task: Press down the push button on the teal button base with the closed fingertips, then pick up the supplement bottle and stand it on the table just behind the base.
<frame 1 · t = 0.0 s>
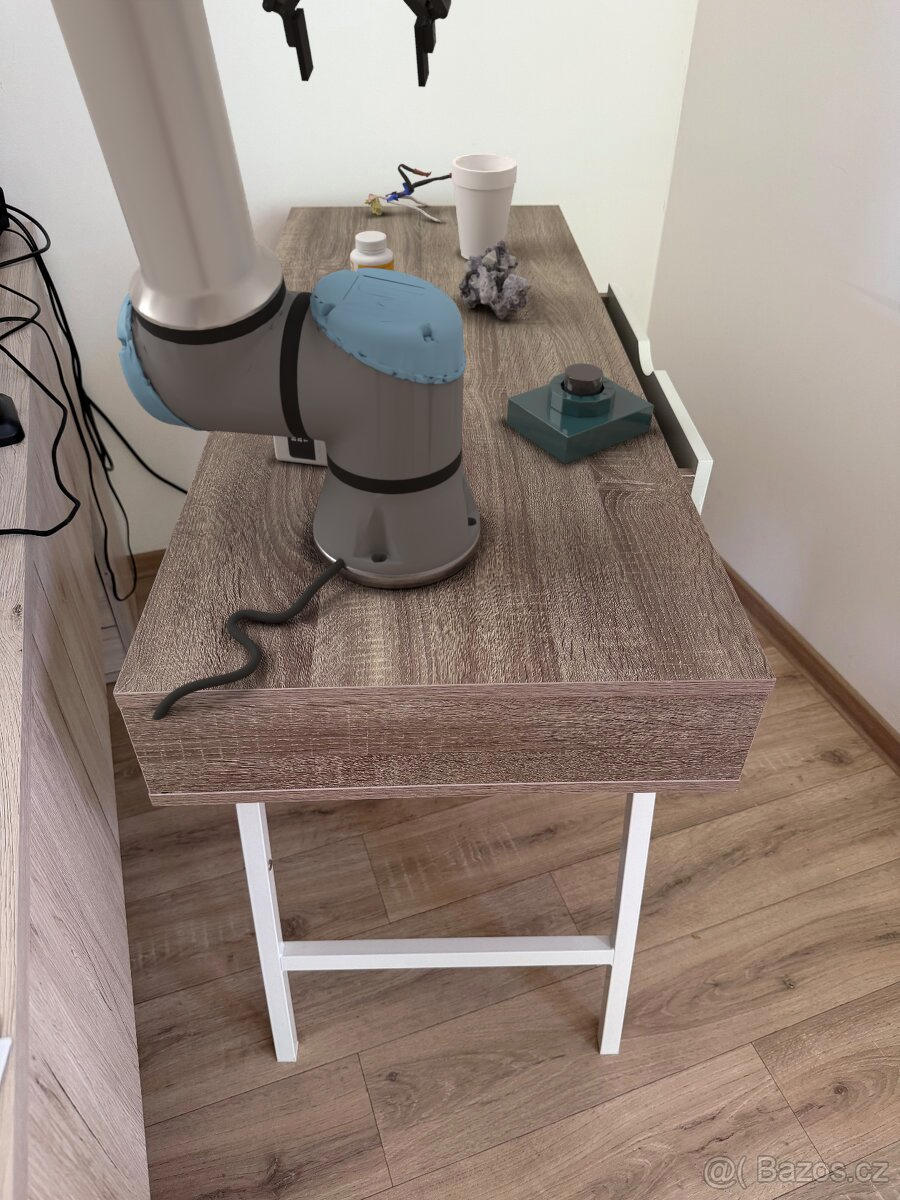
hand: (365, 77, 105), 28 cm above the table, tool tilted 20°, fingers open, 13 cm apart
container: (322, 448, 97), on the table
foam cup: (481, 255, 140), on the table
figurine: (409, 214, 154), on the table
mineral specimen: (489, 309, 124), on the table
teal button base: (577, 427, 100), on the table
push button: (583, 380, 97), point 6 cm above the table, slide at 0.1 cm
supplement bottle: (374, 315, 123), on the table
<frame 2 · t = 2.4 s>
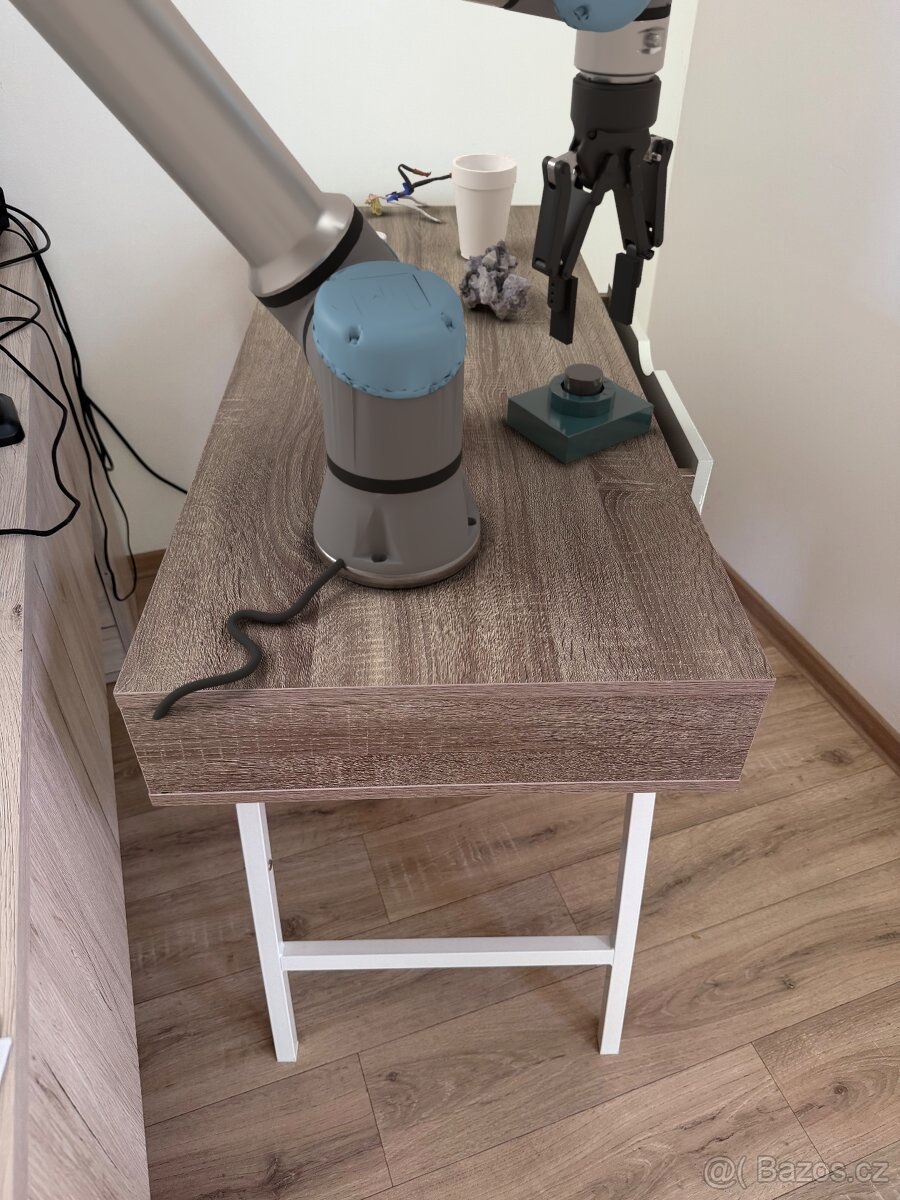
hand: (591, 329, 93), 11 cm above the table, tool pointing down, fingers open, 7 cm apart
container: (335, 407, 95), point 4 cm above the table, touching arm
everything else where it was.
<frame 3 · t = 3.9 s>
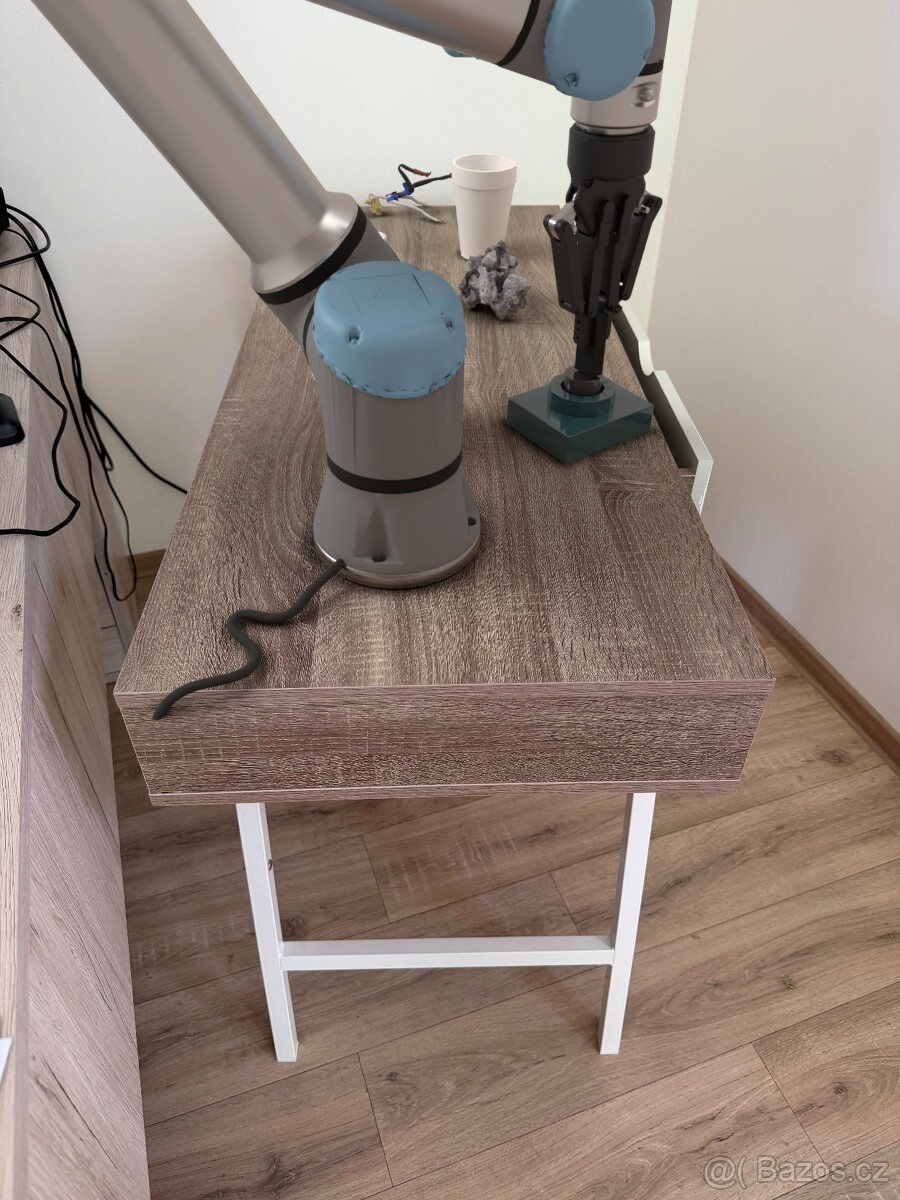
hand: (588, 371, 96), 7 cm above the table, tool pointing down, fingers closed
push button: (582, 381, 97), point 5 cm above the table, slide at -0.1 cm, touching gripper
everything else where it was.
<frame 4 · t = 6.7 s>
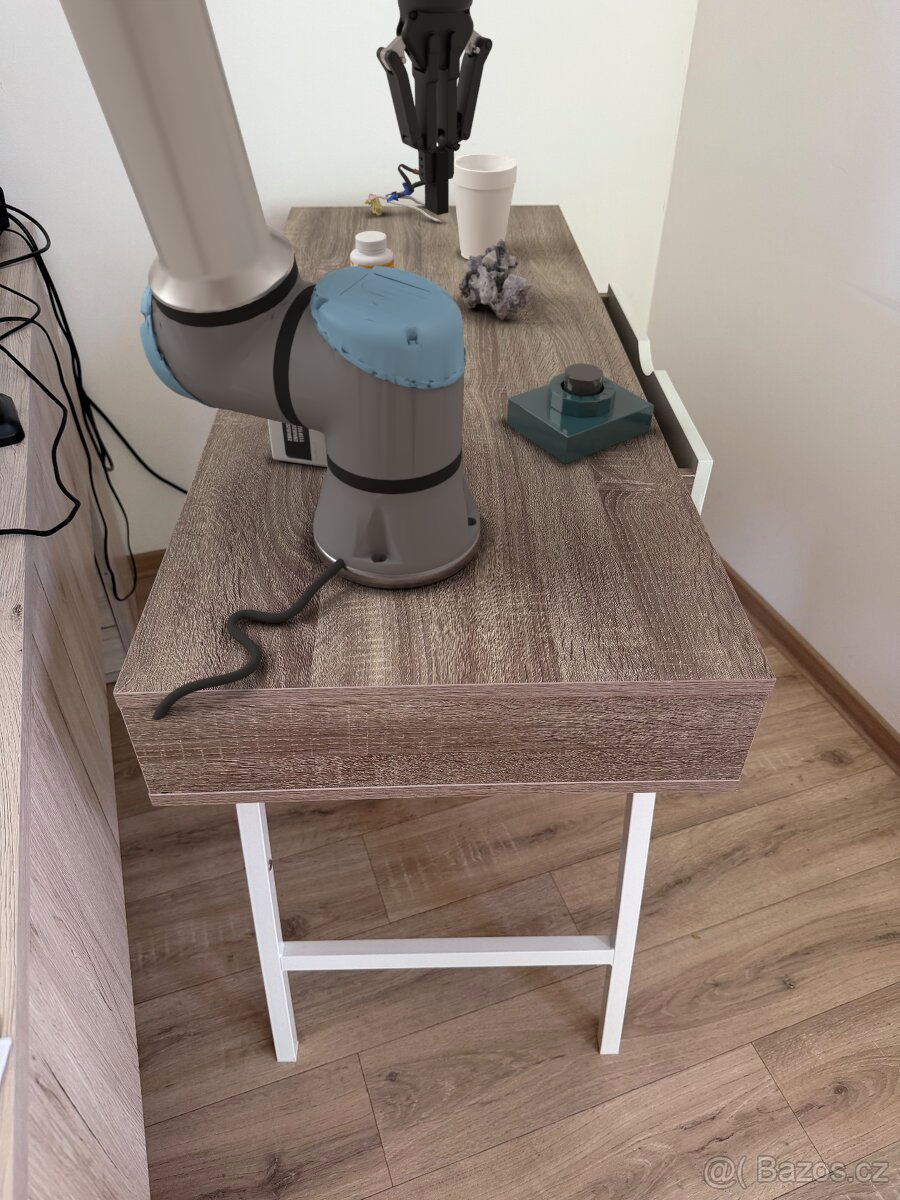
hand: (436, 210, 105), 16 cm above the table, tool pointing down, fingers closed
container: (320, 448, 97), on the table
push button: (583, 380, 97), point 6 cm above the table, slide at 0.1 cm
everything else where it was.
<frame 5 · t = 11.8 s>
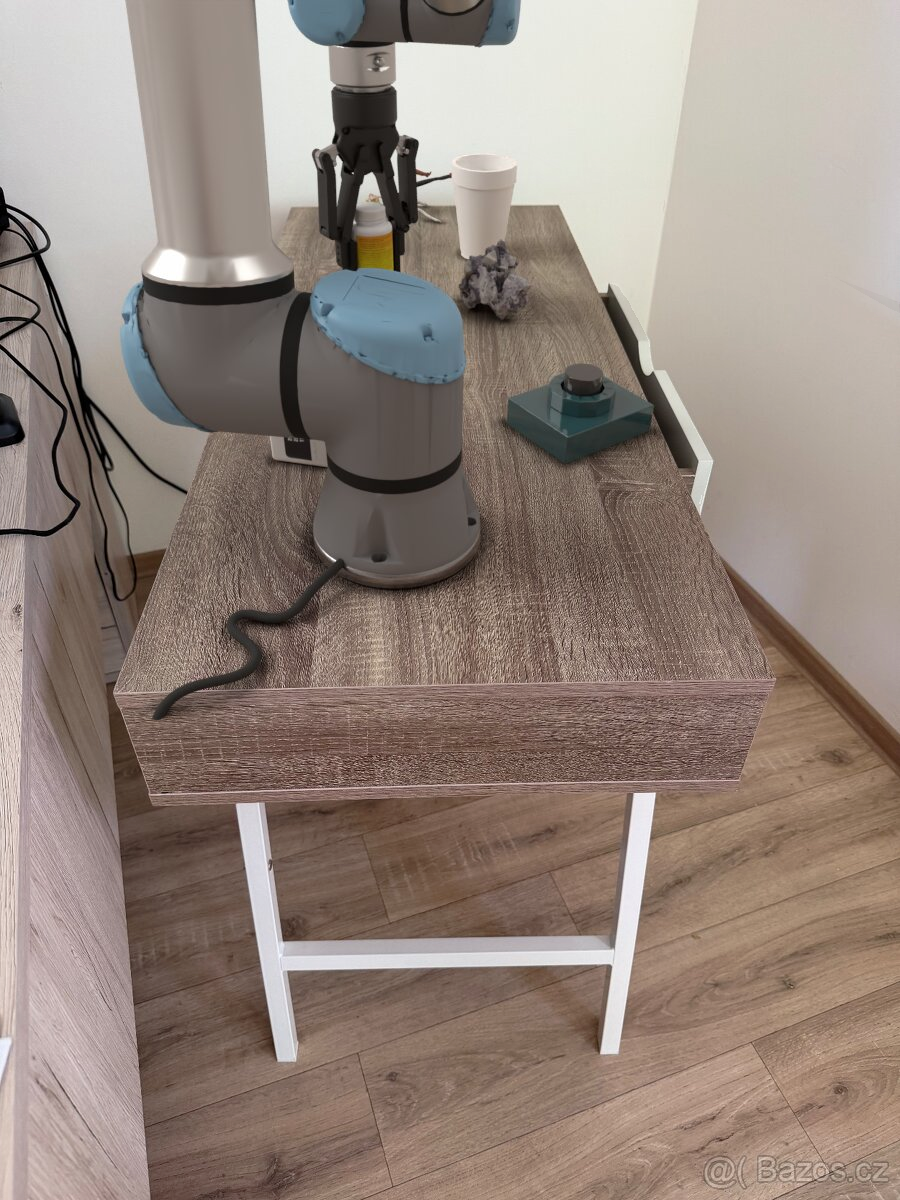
hand: (372, 285, 120), 4 cm above the table, tool pointing down, fingers closed on supplement bottle, 6 cm apart
supplement bottle: (372, 289, 120), point 3 cm above the table, touching gripper
everything else where it was.
when the fingers open (0 cm above the table, at t = 18.6 s): supplement bottle stays where it is, on the table.
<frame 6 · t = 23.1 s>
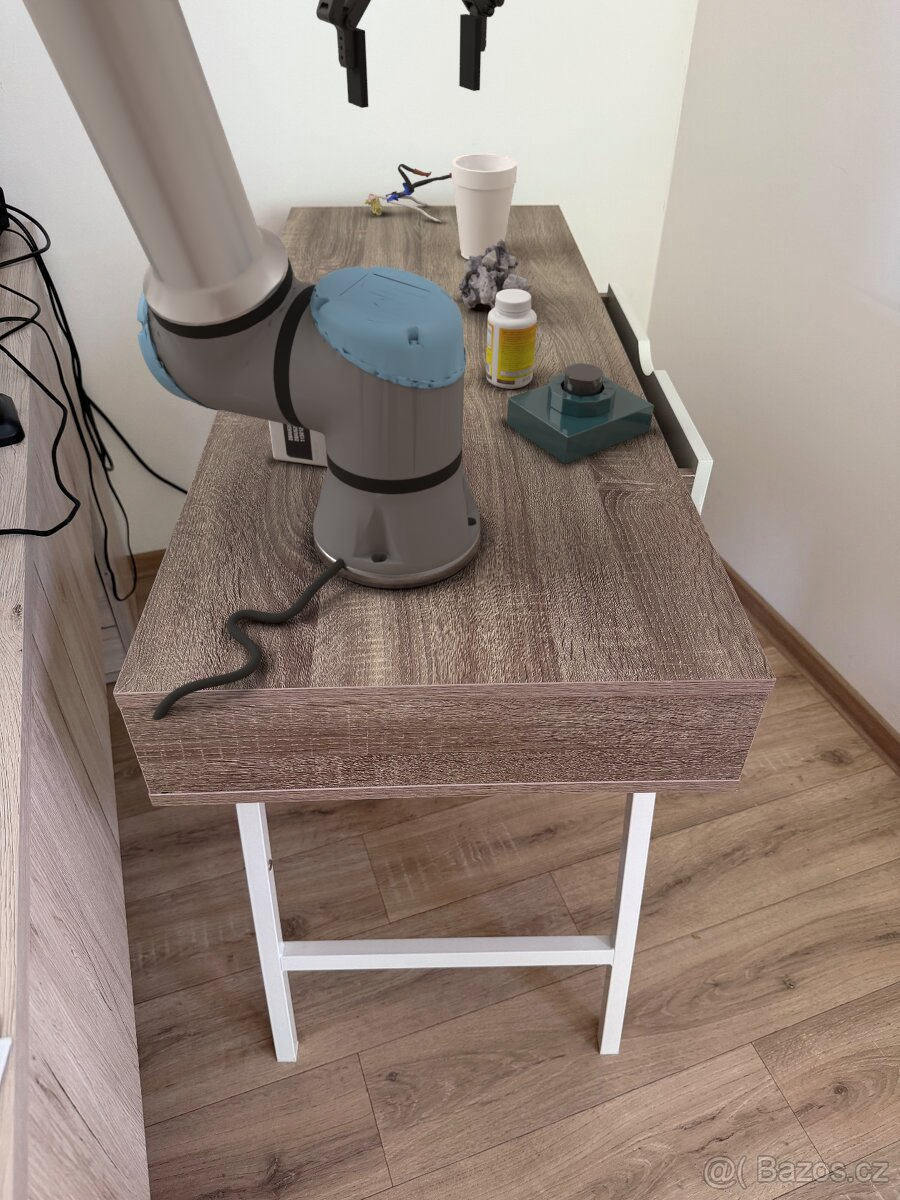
hand: (415, 96, 94), 29 cm above the table, tool pointing down, fingers open, 13 cm apart
supplement bottle: (508, 381, 109), on the table
everything else where it was.
at the end: push button pushed in 0.7 cm at the most during the clip, back to where it started at the end; push button slide at 0.1 cm; supplement bottle inside the target area on the table beside the teal button base (1.2 cm from its centre), on the table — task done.
